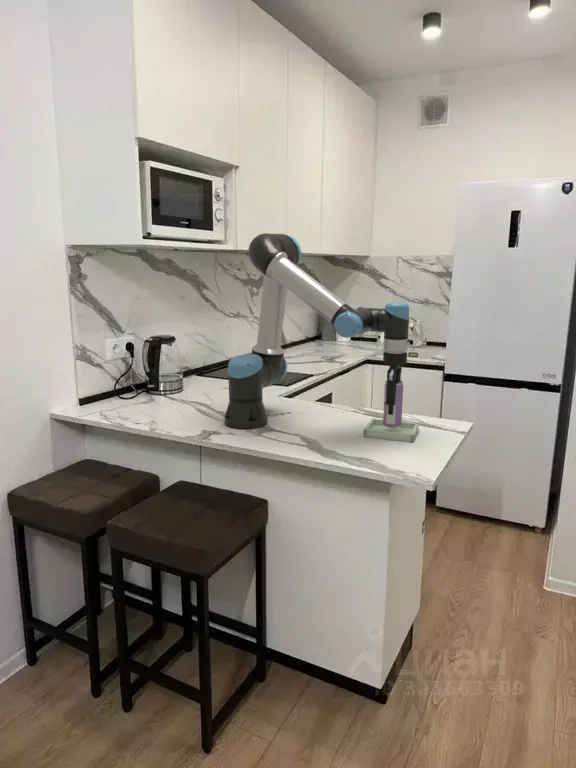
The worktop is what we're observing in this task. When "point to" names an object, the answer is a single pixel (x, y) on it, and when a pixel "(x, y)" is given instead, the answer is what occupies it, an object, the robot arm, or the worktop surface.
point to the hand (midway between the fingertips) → (392, 420)
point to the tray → (391, 431)
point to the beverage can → (398, 406)
